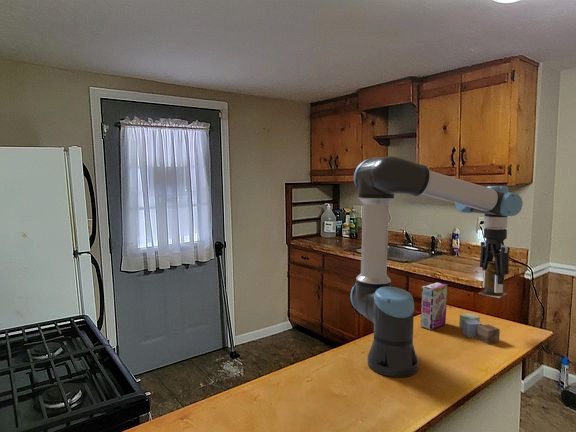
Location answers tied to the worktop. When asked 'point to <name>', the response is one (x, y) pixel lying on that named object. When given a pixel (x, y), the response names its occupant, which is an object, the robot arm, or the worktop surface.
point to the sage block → (467, 316)
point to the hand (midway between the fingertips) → (492, 289)
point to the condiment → (491, 281)
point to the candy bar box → (433, 305)
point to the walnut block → (488, 334)
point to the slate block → (470, 327)
